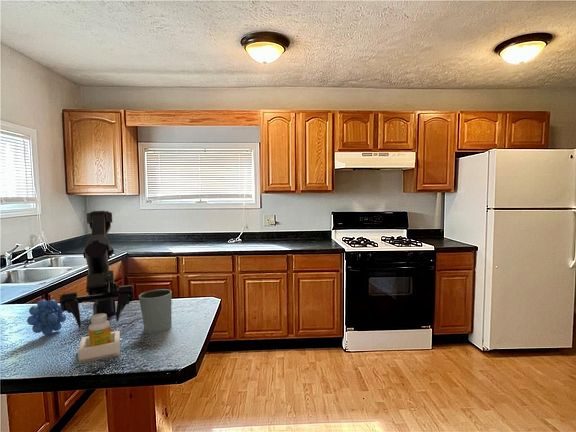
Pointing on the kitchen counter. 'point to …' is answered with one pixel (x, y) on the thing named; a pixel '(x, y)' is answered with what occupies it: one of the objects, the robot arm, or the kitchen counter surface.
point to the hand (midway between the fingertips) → (98, 324)
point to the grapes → (46, 317)
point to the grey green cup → (156, 310)
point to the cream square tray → (99, 349)
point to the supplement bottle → (99, 330)
